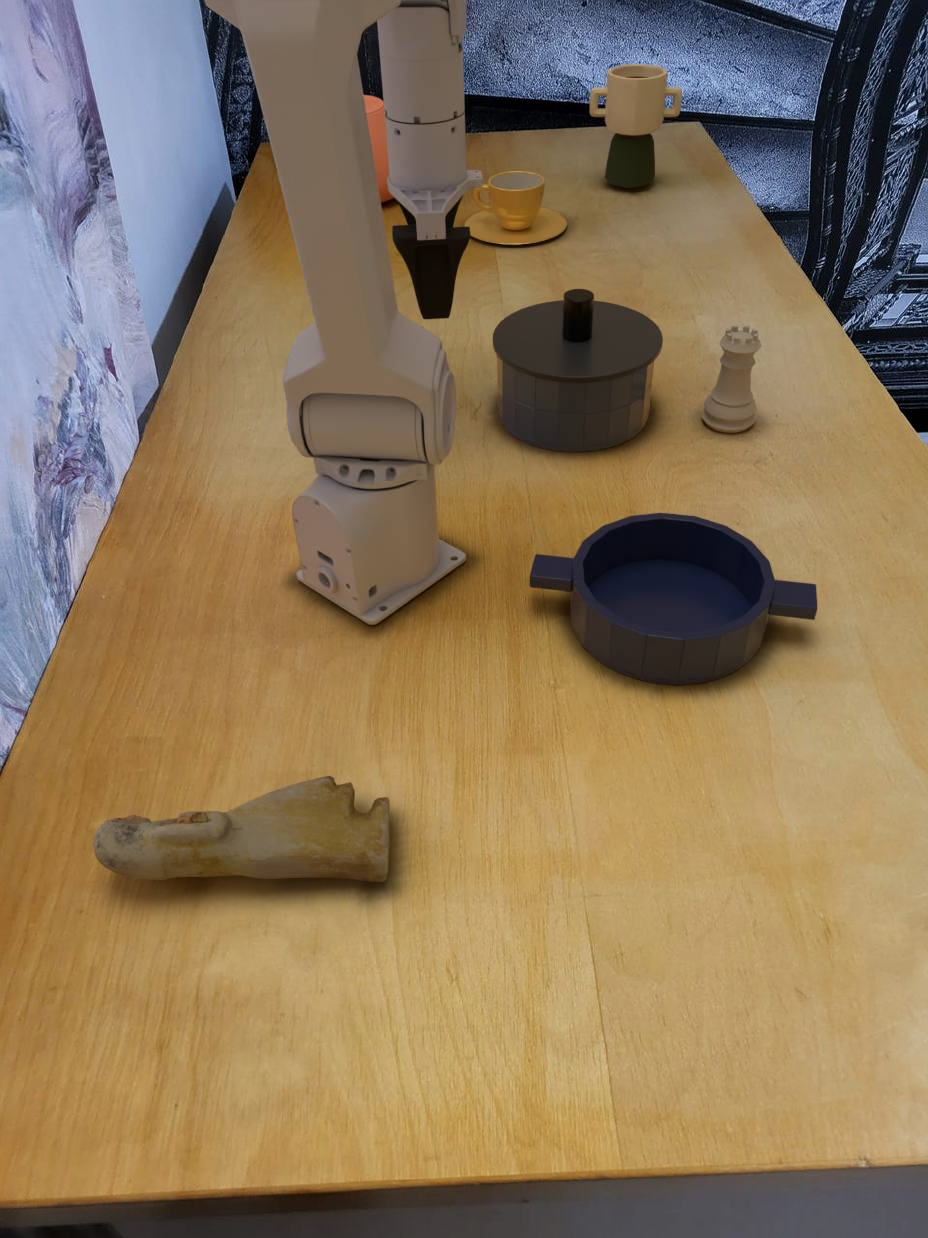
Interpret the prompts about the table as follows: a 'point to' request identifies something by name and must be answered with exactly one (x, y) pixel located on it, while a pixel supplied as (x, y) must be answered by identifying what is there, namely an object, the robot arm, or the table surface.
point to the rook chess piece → (733, 383)
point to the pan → (671, 597)
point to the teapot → (378, 143)
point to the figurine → (257, 838)
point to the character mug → (634, 120)
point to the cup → (514, 211)
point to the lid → (577, 340)
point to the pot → (573, 409)
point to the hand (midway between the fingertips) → (434, 295)
